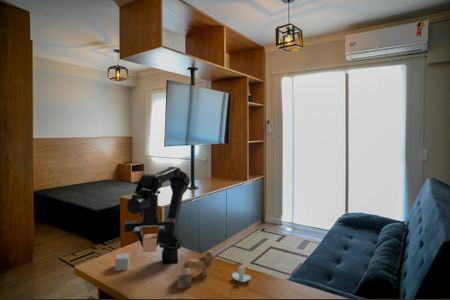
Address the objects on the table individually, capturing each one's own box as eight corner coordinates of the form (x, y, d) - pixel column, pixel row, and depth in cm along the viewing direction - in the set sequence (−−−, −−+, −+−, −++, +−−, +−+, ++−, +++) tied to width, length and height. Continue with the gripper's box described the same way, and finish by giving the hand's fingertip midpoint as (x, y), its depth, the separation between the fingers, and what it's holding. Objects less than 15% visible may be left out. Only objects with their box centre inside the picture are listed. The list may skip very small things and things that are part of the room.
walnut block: (190, 279, 107) (190, 267, 106) (191, 287, 102) (191, 274, 101) (177, 281, 106) (177, 268, 105) (177, 288, 101) (177, 275, 100)
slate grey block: (129, 264, 118) (129, 253, 118) (127, 270, 113) (127, 258, 113) (117, 265, 117) (117, 254, 117) (115, 271, 112) (115, 259, 112)
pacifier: (235, 274, 112) (230, 281, 106) (235, 259, 111) (231, 265, 106) (252, 278, 109) (249, 285, 103) (253, 262, 109) (249, 269, 103)
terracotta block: (156, 245, 109) (157, 233, 109) (156, 251, 104) (156, 238, 104) (144, 246, 108) (144, 234, 108) (142, 252, 103) (142, 239, 103)
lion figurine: (211, 268, 116) (212, 247, 115) (216, 274, 111) (216, 253, 110) (177, 275, 110) (177, 253, 109) (181, 281, 105) (181, 259, 105)
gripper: (174, 201, 115) (174, 237, 116) (127, 202, 111) (127, 239, 112) (174, 208, 104) (174, 248, 105) (123, 210, 100) (123, 251, 101)
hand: (150, 246), depth 106 cm, fingers closed on terracotta block, 5 cm apart
